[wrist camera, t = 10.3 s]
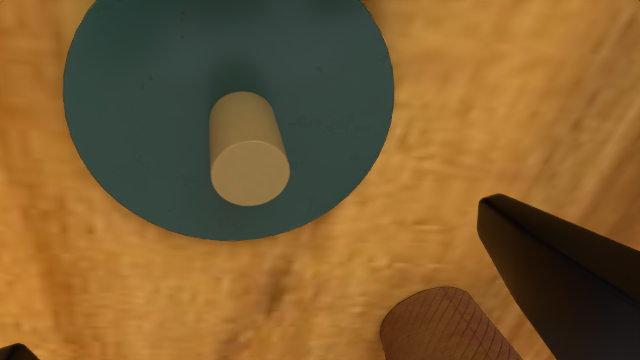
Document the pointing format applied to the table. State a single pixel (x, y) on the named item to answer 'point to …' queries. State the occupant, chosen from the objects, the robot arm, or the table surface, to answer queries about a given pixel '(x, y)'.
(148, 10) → the tin lid
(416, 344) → the disposable coffee cup
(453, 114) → the table surface
